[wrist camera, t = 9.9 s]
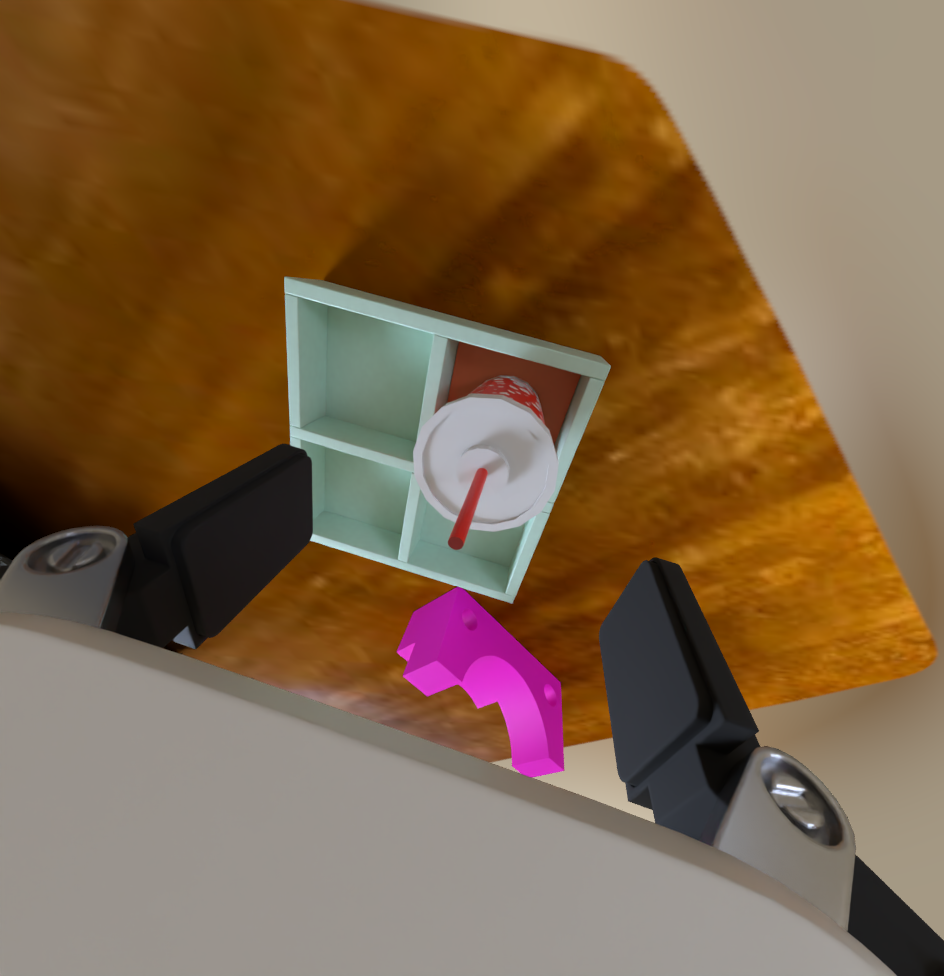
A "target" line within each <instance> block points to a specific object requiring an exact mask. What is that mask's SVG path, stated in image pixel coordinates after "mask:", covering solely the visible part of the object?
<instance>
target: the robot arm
mask: <svg viewBox="0 0 944 976" xmlns="http://www.w3.org/2000/svg"><path fill="white" fill-rule="evenodd" d="M133 525H134V528H135V530H136V533H135V534H133V535H131V536H129V537H128V538H127V536H126V535H125V534H124V533H123V531H120V530H118V529H116V528H113V527H106V526H85V527H79V528H72V529H68V530H64V531H61V532H57V533H54V534H51V535H48V536H46V537H44V538H41V539H39V540H37V541H35V542H34V543H32V544H30V545H29V546H27V547H26V548H24V549H23V550H22V551H21V552H20V553H19V554H18V555H17V556H16V557H15V558H14V560H13V561H12V563H11V564H10V565H5V566H0V976H944V940H943V939H941V938H940V937H939V936H938V935H937V934H936V933H935V932H934V931H933V930H932V929H931V928H930V927H929V926H928V925H927V924H926V923H925V922H924V921H923V920H922V919H921V918H920V917H919V916H918V915H917V914H916V913H915V912H914V911H913V910H912V909H910V907H909V906H908V905H906V904H905V902H904V901H903V900H901V898H899V897H898V896H897V895H896V894H895V893H894V892H893V891H892V890H891V889H890V888H889V887H888V886H887V885H886V884H885V883H884V882H883V881H882V880H881V879H880V878H879V877H878V876H877V875H876V874H875V873H874V872H873V871H872V870H871V869H870V868H869V867H868V866H866V865H865V863H864V862H863V861H862V860H861V859H860V858H859V857H858V856H856V855H855V852H856V845H855V836H854V832H853V830H852V828H851V825H850V823H849V820H848V817H847V816H846V814H845V812H844V811H843V809H842V808H841V806H840V804H839V803H838V801H837V800H836V798H835V797H834V796H833V795H832V793H831V792H830V791H829V790H828V788H827V787H826V786H825V785H824V784H823V782H822V781H821V780H820V779H819V778H818V777H816V776H815V775H814V774H813V773H812V772H811V771H810V770H809V769H808V768H807V767H806V766H804V765H803V764H802V763H800V762H799V761H798V760H796V759H795V758H793V757H792V756H790V755H788V754H787V753H785V752H783V751H781V750H779V749H776V748H771V747H768V746H764V747H760V745H759V743H758V741H757V738H756V736H755V734H756V733H757V732H758V731H759V730H758V728H757V726H756V724H755V722H754V719H753V717H752V715H751V713H750V711H749V709H748V707H747V705H746V703H745V701H744V699H743V696H742V694H741V692H740V690H739V688H738V686H737V684H736V682H735V680H734V678H733V676H732V673H731V671H730V669H729V667H728V665H727V663H726V661H725V659H724V657H723V655H722V653H721V650H720V648H719V646H718V644H717V642H716V640H715V638H714V636H713V634H712V632H711V630H710V627H709V625H708V623H707V621H706V619H705V617H704V615H703V613H702V611H701V609H700V607H699V604H698V602H697V600H696V598H695V596H694V594H693V592H692V590H691V588H690V586H689V584H688V582H687V579H686V577H685V575H684V573H683V571H682V569H681V567H680V566H679V565H678V564H676V563H672V562H669V561H666V560H663V559H659V558H652V559H651V560H650V561H647V560H645V561H643V562H642V563H641V565H640V566H639V568H638V569H637V571H636V572H635V574H634V576H633V577H632V579H631V580H630V582H629V583H628V585H627V586H626V588H625V589H624V591H623V593H622V594H621V596H620V597H619V599H618V600H617V602H616V603H615V605H614V606H613V608H612V610H611V611H610V613H609V614H608V616H607V617H606V619H605V620H604V622H603V623H602V625H601V628H600V632H599V641H600V648H601V655H602V662H603V670H604V677H605V684H606V691H607V698H608V706H609V713H610V720H611V727H612V734H613V741H614V748H615V756H616V762H617V769H618V775H619V777H620V779H621V780H622V781H623V782H625V783H626V790H627V796H628V801H629V802H632V803H635V804H637V805H641V806H643V807H646V808H649V809H652V810H653V814H654V818H655V823H653V822H650V821H648V820H645V819H642V818H640V817H637V816H634V815H632V814H629V813H626V812H624V811H621V810H619V809H616V808H613V807H611V806H608V805H606V804H603V803H600V802H597V801H595V800H592V799H589V798H587V797H584V796H581V795H578V794H576V793H573V792H570V791H567V790H565V789H562V788H559V787H556V786H553V785H551V784H548V783H545V782H542V781H540V780H537V779H534V778H531V777H528V776H526V775H523V774H520V773H517V772H514V771H512V770H509V769H506V768H503V767H500V766H498V765H495V764H492V763H489V762H487V761H484V760H481V759H478V758H476V757H473V756H470V755H467V754H464V753H462V752H459V751H456V750H453V749H450V748H447V747H445V746H442V745H439V744H436V743H433V742H431V741H428V740H425V739H422V738H419V737H416V736H414V735H411V734H408V733H405V732H402V731H399V730H397V729H394V728H391V727H388V726H385V725H383V724H380V723H377V722H374V721H371V720H368V719H366V718H363V717H360V716H357V715H354V714H351V713H348V712H346V711H343V710H340V709H337V708H334V707H331V706H329V705H326V704H323V703H320V702H317V701H314V700H312V699H309V698H306V697H303V696H300V695H297V694H294V693H292V692H289V691H286V690H283V689H280V688H277V687H274V686H271V685H268V684H266V683H263V682H260V681H257V680H254V679H251V678H248V677H245V676H243V675H240V674H237V673H234V672H231V671H228V670H225V669H222V668H219V667H217V666H214V665H211V664H208V663H205V662H202V661H199V660H196V659H194V658H191V657H188V656H185V655H182V654H179V653H176V652H173V651H169V650H166V649H164V647H165V646H166V645H167V644H168V643H169V642H170V641H172V640H173V639H174V642H176V643H179V644H182V645H185V646H188V647H191V648H193V649H197V648H198V647H199V646H200V645H201V644H202V643H203V642H204V641H205V640H206V639H207V638H208V637H209V638H211V637H214V636H216V635H217V634H218V633H219V632H220V631H221V630H222V629H223V628H224V627H225V626H226V625H227V624H228V623H229V622H230V621H231V620H232V619H233V618H234V617H235V616H236V615H237V614H238V613H239V612H240V611H241V610H242V609H243V608H244V607H245V606H246V605H247V604H248V603H249V602H250V601H251V600H252V599H253V598H254V597H255V596H256V595H257V594H258V593H259V592H260V591H261V590H262V589H263V588H264V587H265V586H266V585H267V584H268V583H269V582H270V581H271V580H272V579H273V578H274V577H275V576H276V575H277V574H278V573H279V572H280V571H281V570H282V569H283V568H284V567H285V566H286V565H287V564H288V563H289V562H290V561H291V560H292V559H293V558H294V557H295V556H296V555H297V554H298V553H299V552H300V551H301V550H302V549H303V548H304V547H305V546H306V545H307V544H308V543H309V541H310V540H311V537H312V534H313V500H312V460H311V458H310V457H309V456H308V455H307V452H306V451H305V450H304V449H300V448H297V447H294V446H291V445H287V444H281V445H278V446H277V447H275V448H273V449H271V450H269V451H267V452H265V453H264V454H262V455H260V456H258V457H256V458H254V459H252V460H251V461H249V462H247V463H245V464H243V465H241V466H240V467H238V468H236V469H234V470H232V471H230V472H228V473H227V474H225V475H223V476H221V477H219V478H217V479H215V480H214V481H212V482H210V483H208V484H206V485H204V486H202V487H201V488H199V489H197V490H195V491H193V492H191V493H189V494H188V495H186V496H184V497H182V498H180V499H178V500H176V501H175V502H173V503H171V504H169V505H167V506H165V507H163V508H162V509H160V510H158V511H156V512H154V513H152V514H150V515H149V516H147V517H145V518H143V519H141V520H139V521H137V522H136V523H134V524H133Z"/></svg>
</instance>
